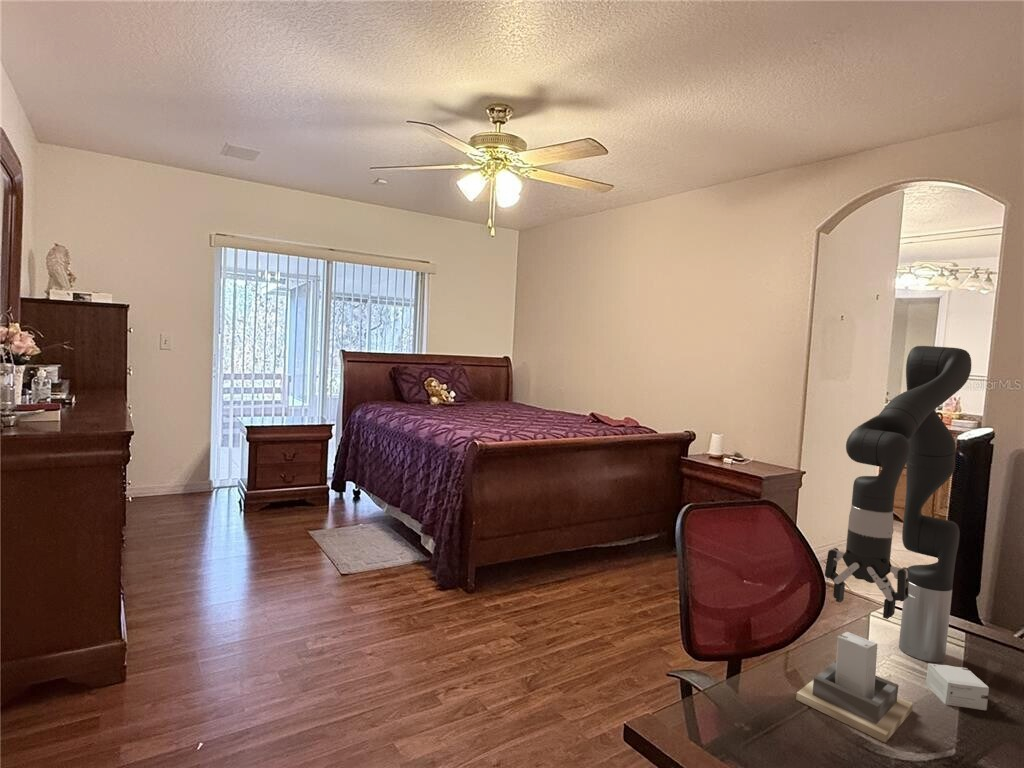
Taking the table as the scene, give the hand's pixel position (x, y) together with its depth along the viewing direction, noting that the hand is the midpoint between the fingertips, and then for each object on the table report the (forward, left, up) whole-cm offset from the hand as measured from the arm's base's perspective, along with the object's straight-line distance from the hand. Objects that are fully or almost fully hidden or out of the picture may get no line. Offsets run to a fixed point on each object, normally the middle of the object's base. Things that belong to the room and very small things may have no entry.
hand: (862, 609), depth 116 cm
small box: (-22, +12, -20) cm, 32 cm away
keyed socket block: (0, 0, -20) cm, 20 cm away
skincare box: (0, 0, -19) cm, 19 cm away
